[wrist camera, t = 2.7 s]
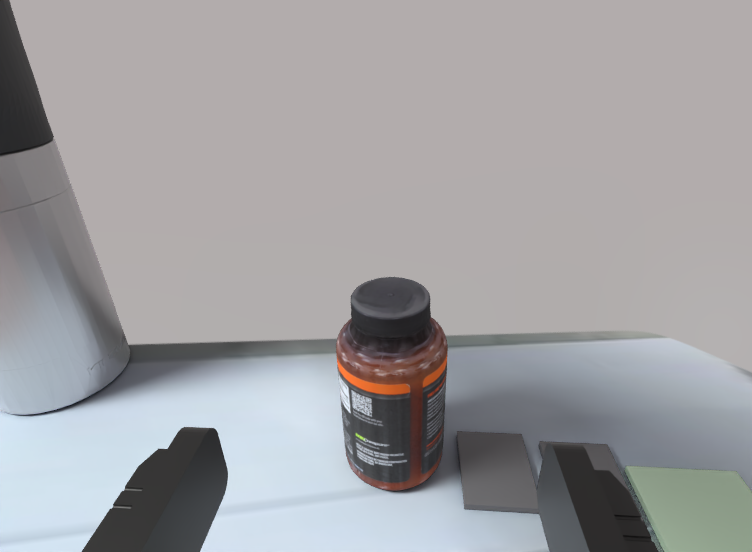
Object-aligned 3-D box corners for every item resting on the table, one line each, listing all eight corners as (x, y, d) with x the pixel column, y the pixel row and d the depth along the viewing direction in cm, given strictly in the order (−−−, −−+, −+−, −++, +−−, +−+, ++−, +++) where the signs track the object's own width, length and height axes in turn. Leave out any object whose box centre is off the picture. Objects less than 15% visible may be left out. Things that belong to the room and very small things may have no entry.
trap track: (468, 546, 22) (469, 541, 22) (456, 435, 28) (457, 431, 28) (801, 568, 21) (805, 563, 20) (712, 447, 27) (714, 442, 27)
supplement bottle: (438, 416, 29) (447, 267, 24) (446, 498, 24) (460, 329, 19) (350, 414, 30) (339, 267, 24) (339, 494, 25) (323, 328, 19)
